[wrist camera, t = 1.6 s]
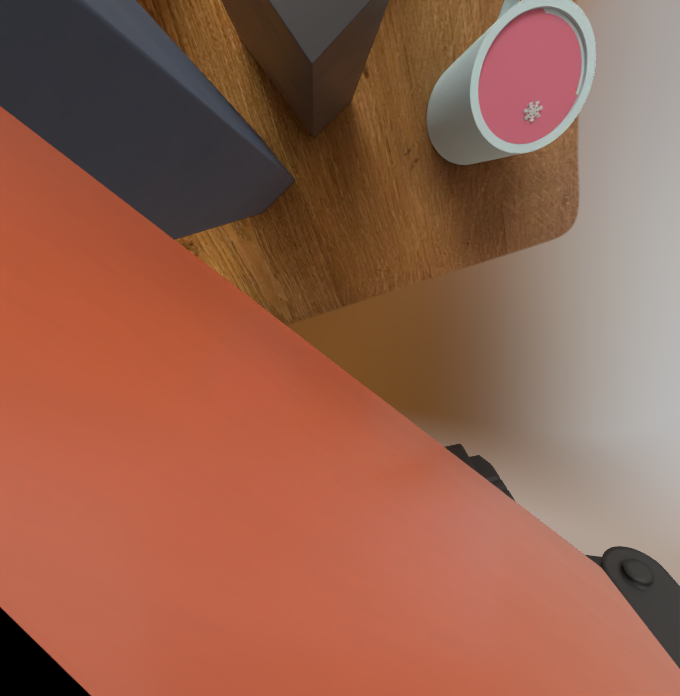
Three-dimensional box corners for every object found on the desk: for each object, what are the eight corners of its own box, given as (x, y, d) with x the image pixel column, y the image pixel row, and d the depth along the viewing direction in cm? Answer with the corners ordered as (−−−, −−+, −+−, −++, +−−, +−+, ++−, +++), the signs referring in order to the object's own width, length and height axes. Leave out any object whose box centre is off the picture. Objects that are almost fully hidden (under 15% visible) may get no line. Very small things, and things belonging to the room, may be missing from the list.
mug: (498, 171, 35) (563, 161, 26) (417, 158, 34) (455, 143, 24) (548, 0, 29) (655, -89, 20) (452, -22, 28) (519, -127, 19)
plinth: (313, 139, 32) (312, 65, 14) (238, 37, 28) (107, -239, 10) (351, 100, 31) (402, -34, 13) (278, -11, 27) (208, -415, 9)
